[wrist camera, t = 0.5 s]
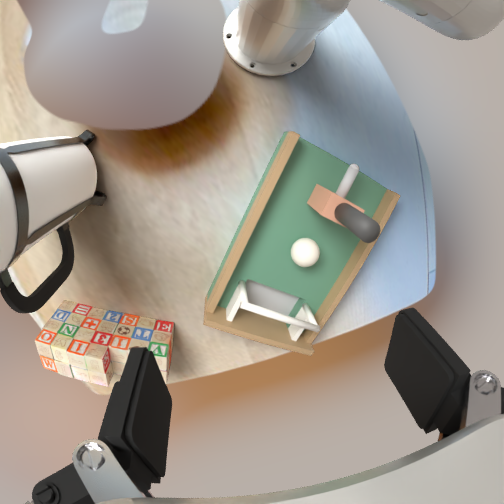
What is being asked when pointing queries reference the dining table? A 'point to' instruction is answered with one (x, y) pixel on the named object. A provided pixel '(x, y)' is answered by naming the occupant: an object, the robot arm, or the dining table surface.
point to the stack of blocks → (100, 342)
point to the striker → (344, 208)
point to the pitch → (279, 251)
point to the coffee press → (42, 205)
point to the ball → (305, 252)
